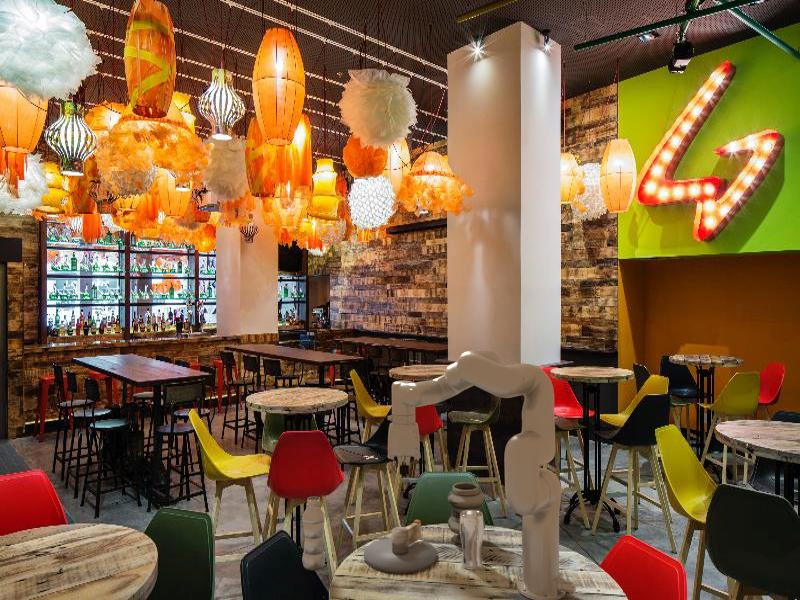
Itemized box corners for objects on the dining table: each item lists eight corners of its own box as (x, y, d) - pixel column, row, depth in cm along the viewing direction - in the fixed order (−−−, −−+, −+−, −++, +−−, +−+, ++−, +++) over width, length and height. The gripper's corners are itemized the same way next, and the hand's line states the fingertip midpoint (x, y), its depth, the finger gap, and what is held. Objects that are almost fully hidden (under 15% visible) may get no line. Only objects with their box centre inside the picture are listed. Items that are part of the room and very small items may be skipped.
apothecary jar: (440, 543, 180) (440, 486, 181) (459, 531, 190) (459, 478, 191) (474, 552, 173) (473, 493, 174) (491, 539, 183) (491, 484, 184)
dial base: (449, 551, 174) (449, 546, 174) (412, 579, 155) (412, 573, 155) (390, 537, 186) (390, 532, 186) (349, 561, 167) (349, 555, 167)
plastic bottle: (313, 575, 158) (313, 503, 159) (297, 569, 162) (297, 499, 163) (330, 567, 163) (329, 497, 164) (313, 561, 167) (313, 493, 168)
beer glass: (483, 571, 160) (482, 518, 161) (458, 569, 161) (458, 516, 162) (484, 561, 167) (484, 510, 167) (461, 559, 168) (460, 508, 169)
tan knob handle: (402, 555, 167) (402, 534, 167) (388, 551, 170) (388, 530, 170) (425, 541, 177) (425, 521, 177) (412, 538, 180) (412, 518, 180)
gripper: (379, 421, 178) (380, 480, 177) (426, 421, 177) (427, 480, 176) (381, 417, 186) (382, 473, 185) (427, 417, 185) (427, 474, 184)
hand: (404, 476), depth 181 cm, fingers closed
